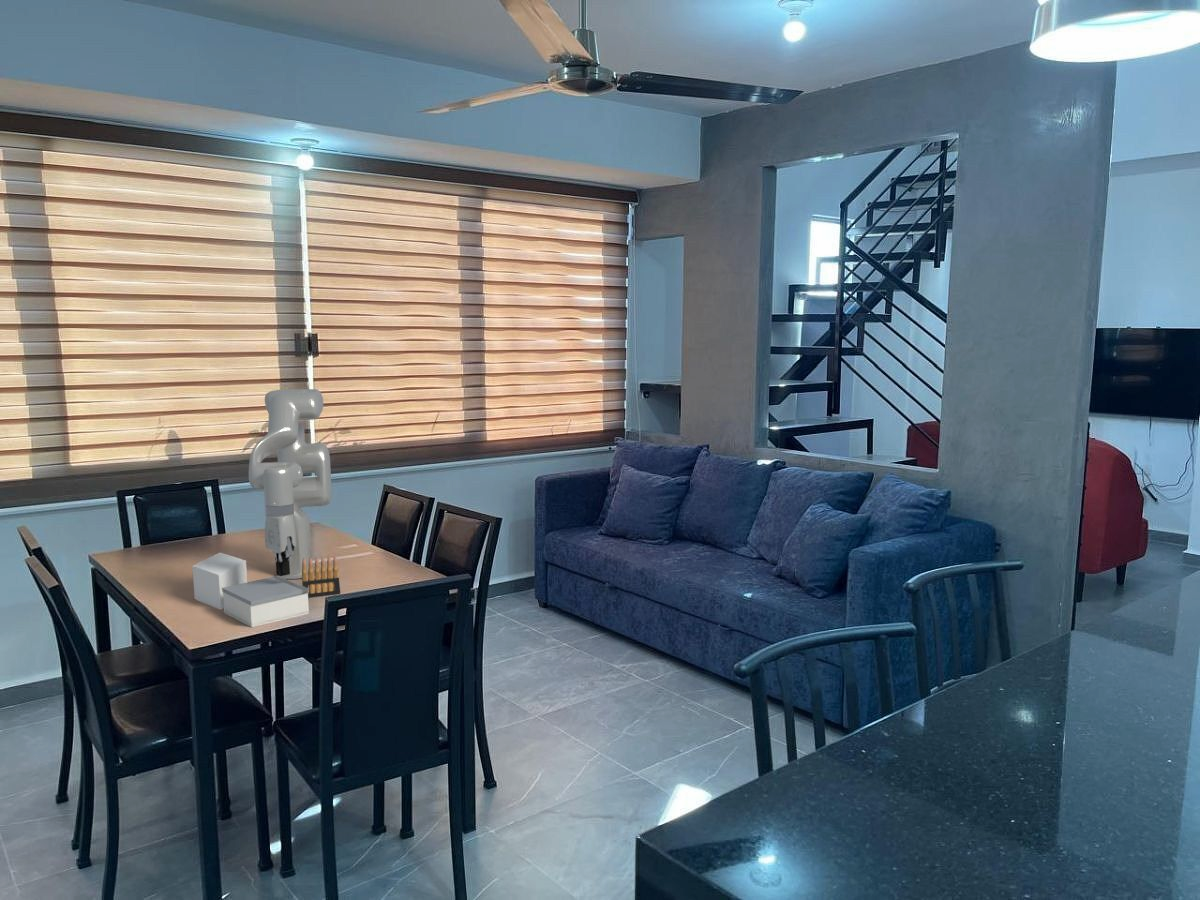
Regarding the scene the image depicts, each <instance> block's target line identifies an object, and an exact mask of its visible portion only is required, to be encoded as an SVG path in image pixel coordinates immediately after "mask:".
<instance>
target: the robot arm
mask: <svg viewBox="0 0 1200 900" xmlns="http://www.w3.org/2000/svg"><path fill="white" fill-rule="evenodd" d="M264 404H265V408H266V411H267V413H268V421H267V422H268V423H267V424H268V426H267V434H265V435H264V436H263V437H262V438H261V439H260V440H259V441H257V443H256V444H255V445H254V446H253V448H252V450H251V452H250V455H249V461H248V462H249V463H248V481H249V484H250V486H251V487H252V488H254V489H256V490H263V493H264V508H265V509H264V511H265V514H264V515H265V521H264V522H265V524H264V538H265V539H264V540H265V541H264V544H265V548H266V550H269V551H271V552H272V553H273V555H274V561H275V572H276V573H275V574H276V575H275V576H279V577H281V578H284V579H286V580H295V579H302V562H303V558H305V560H306V565H307V572H308V570H309V558H310V557H311V558H312V557H313V556H312V555H313V554H312V539H311V536H312V535H311V520H310V518H309V516H308V514H307V513H306V512H305V511H304V510H303V509H302V508H308V507H309V508H310V507H324V506H327V505H329V504H330V503H331V501H332V493H333V492H332V490H333V489H332V488H333V487H332V473H331V472H332V471H331V457H330V451H329V449H328V447H327V445H325V444H324V443H318V442H317V443H316V442H314V443H313V442H312V443H306V439H305V438H306V435H305V427H304V426H303V424H302V422H300V421H312V420H318V419H319V418H320V416H321V414H322V413H323V408H324V397H323V394H322V391H320V390H319V389H316V388H305V389H304V388H301V389H300V388H299V389H295V388H293V389H292V388H291V389H290V388H289V389H276V390H274V389H273V390H270V391H268V392H267V393H266V394H265V396H264ZM274 453H276V454H277V462H275V461H273V462H263V460H265V458H267V457H268V456H270V455H272V454H274ZM304 474H315V475H316V476H310V477H309V476H307V477H304ZM312 559H313V558H312ZM313 570H314V576H315V566H313Z"/></svg>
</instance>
